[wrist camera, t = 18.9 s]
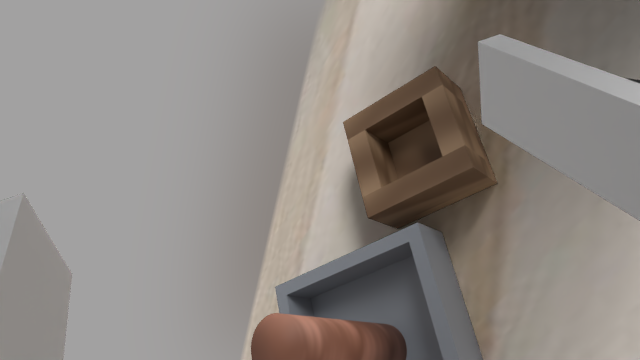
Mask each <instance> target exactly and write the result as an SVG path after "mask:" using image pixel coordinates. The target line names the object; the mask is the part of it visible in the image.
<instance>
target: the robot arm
mask: <svg viewBox="0 0 640 360" xmlns="http://www.w3.org/2000/svg"><path fill="white" fill-rule="evenodd" d="M478 55H479V76H480V97H481V118H482V124H483V125H484V126H486V127H488V128H489V129H491V130H493V131H494V132H496V133H497V134H499V135H501V136H502V137H504V138H506V139H507V140H509V141H510V142H512V143H514V144H515V145H517V146H519V147H520V148H522V149H523V150H525V151H527V152H528V153H530V154H532V155H533V156H535V157H536V158H538V159H540V160H541V161H543V162H545V163H546V164H548V165H550V166H551V167H553V168H554V169H556V170H558V171H559V172H561V173H563V174H564V175H566V176H567V177H569V178H571V179H572V180H574V181H576V182H577V183H579V184H580V185H582V186H584V187H585V188H587V189H589V190H590V191H592V192H593V193H595V194H597V195H598V196H600V197H602V198H603V199H605V200H607V201H608V202H610V203H611V204H613V205H615V206H616V207H618V208H620V209H621V210H623V211H624V212H626V213H628V214H629V215H631V216H633V217H634V218H636V219H637V220H639V221H640V80H634V79H628V78H623V77H620V76H617V75H614V74H611V73H608V72H606V71H603V70H600V69H597V68H594V67H592V66H589V65H586V64H583V63H580V62H577V61H575V60H572V59H569V58H566V57H563V56H560V55H558V54H555V53H552V52H549V51H546V50H544V49H541V48H538V47H535V46H532V45H529V44H527V43H524V42H521V41H518V40H515V39H513V38H510V37H507V36H504V35H501V34H499V35H496V36H493V37H490V38H487V39H484V40H481V41H478ZM71 279H72V273H71V271H70V270H69V268H68V266H67V265H66V263H65V261H64V260H63V258H62V256H61V255H60V253H59V251H58V250H57V248H56V246H55V245H54V243H53V241H52V240H51V238H50V236H49V235H48V233H47V231H46V230H45V228H44V226H43V225H42V223H41V221H40V220H39V218H38V216H37V215H36V213H35V211H34V210H33V208H32V206H31V205H30V203H29V201H28V200H27V198H26V196H25V195H24V193H22V194H19V195H16V196H13V197H10V198H7V199H4V200H1V201H0V360H63V357H64V346H65V338H66V328H67V318H68V309H69V308H68V307H69V299H70V289H71Z"/></svg>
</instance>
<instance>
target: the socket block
mask: <svg viewBox="0 0 640 360" xmlns="http://www.w3.org/2000/svg"><path fill="white" fill-rule="evenodd" d="M343 124H344V128H345V131H346V135H347V139H348V143H349V147H350V151H351V155H352V159H353V162H354V166H355V170H356V174H357V178H358V182H359V186H360V189H361V193H362V197H363V201H364V205H365V209H366V213H367V216H368V218H369V219H372V220H375V221H378V222H380V223H383V224H386V225H389V226H392V227H394V228H397V229H398V228H400V227H402V226H405V225H407V224H409V223H411V222H413V221H416V220H418V219H420V218H422V217H424V216H427V215H429V214H431V213H433V212H435V211H438V210H440V209H442V208H444V207H446V206H449V205H451V204H453V203H455V202H457V201H460V200H462V199H464V198H466V197H468V196H471V195H473V194H475V193H477V192H479V191H481V190H484V189H486V188H488V187H490V186H492V185H495V184H497V181H496V178H495V176H494V173H493V171H492V168H491V166H490V163H489V160H488V158H487V155H486V153H485V150H484V148H483V145H482V143H481V140H480V138H479V135H478V133H477V130H476V127H475V125H474V122H473V120H472V117H471V115H470V112H469V110H468V107H467V105H466V102H465V100H464V97H463V95H462V92H461V89H460V88H459V87H458V86H457V85H456V84H455V83H454V82H452V81H451V80H450V79H449V78H448V77H447V76H446V75H445V74H444V73H442V72H441V71H440V70H439V69H438V68H437V67H436V66H434V67H433V68H431V69H430V70H428V71H426V72H425V73H423V74H421V75H420V76H418V77H416V78H415V79H413V80H411V81H410V82H408V83H407V84H405V85H403V86H402V87H400V88H398V89H397V90H395V91H393V92H392V93H390V94H389V95H387V96H385V97H384V98H382V99H380V100H379V101H377V102H375V103H374V104H372V105H370V106H369V107H367V108H366V109H364V110H362V111H361V112H359V113H357V114H356V115H354V116H352V117H351V118H349V119H347V120H346V121H344V122H343Z"/></svg>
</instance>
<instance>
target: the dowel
mask: <svg viewBox="0 0 640 360" xmlns="http://www.w3.org/2000/svg"><path fill="white" fill-rule="evenodd" d="M251 355H252V360H406V356H407V346H406V342H405V339H404V337H403V335H402V334H401V332H400V331H399V330H398V329H397V328H395V327H394V326H392V325H389V324H381V323H371V322H361V321H351V320H341V319H331V318H321V317H311V316H301V315H291V314H280V313H274V314H270V315H268V316H266V317H265V318H264V319H263V320H261V322H260V323H259V324H258V326H257V327H256V329H255V332H254V334H253V338H252V344H251Z"/></svg>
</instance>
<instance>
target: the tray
mask: <svg viewBox="0 0 640 360" xmlns="http://www.w3.org/2000/svg"><path fill="white" fill-rule="evenodd" d="M275 288H276V295H277V301H278V307H279V313H280V314H291V315H301V316H311V317H321V318H331V319H341V320H351V321H361V322H371V323H381V324H389V325H392V326H394V327H395V328H397V329H398V330H399V331H400V332H401V334H402V335H403V337H404V339H405V342H406V346H407V356H406V360H483V358H482V355H481V352H480V349H479V345H478V342H477V339H476V336H475V333H474V330H473V327H472V324H471V321H470V318H469V315H468V312H467V308H466V305H465V302H464V299H463V296H462V293H461V290H460V287H459V284H458V281H457V278H456V275H455V271H454V268H453V265H452V262H451V259H450V256H449V253H448V250H447V247H446V244H445V241H444V238H443V234H442V232H440V231H438V230H435V229H433V228H430V227H428V226H425V225H423V224H420V223H418V222H417V223H415V224H413V225H411V226H409V227H406V228H404V229H402V230H400V231H398V232H395V233H393V234H391V235H389V236H386V237H384V238H382V239H380V240H378V241H375V242H373V243H371V244H369V245H367V246H364V247H362V248H360V249H358V250H356V251H353V252H351V253H349V254H347V255H344V256H342V257H340V258H338V259H336V260H333V261H331V262H329V263H327V264H325V265H322V266H320V267H318V268H316V269H314V270H311V271H309V272H307V273H305V274H302V275H300V276H298V277H296V278H294V279H291V280H289V281H287V282H285V283H283V284H280V285H278V286H276V287H275Z"/></svg>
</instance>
